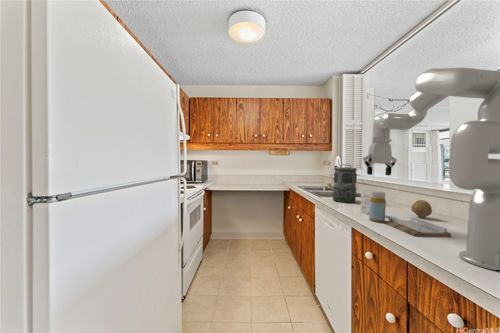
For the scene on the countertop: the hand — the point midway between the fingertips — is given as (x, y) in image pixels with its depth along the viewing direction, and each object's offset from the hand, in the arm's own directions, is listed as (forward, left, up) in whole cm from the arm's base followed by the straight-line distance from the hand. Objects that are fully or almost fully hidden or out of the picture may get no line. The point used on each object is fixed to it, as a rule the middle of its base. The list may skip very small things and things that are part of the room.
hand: (378, 174), depth 114 cm
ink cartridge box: (+15, -5, -24) cm, 28 cm away
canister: (+55, -9, -24) cm, 60 cm away
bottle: (0, 0, -24) cm, 24 cm away
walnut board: (-14, -9, -24) cm, 29 cm away
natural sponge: (+9, -31, -24) cm, 40 cm away
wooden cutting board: (-14, -9, -22) cm, 28 cm away
